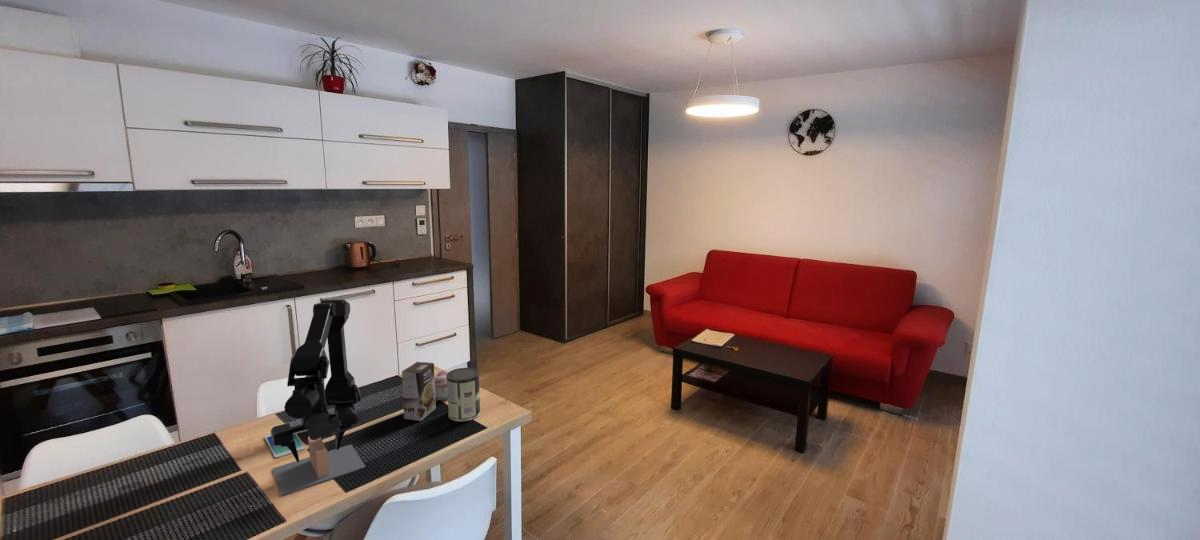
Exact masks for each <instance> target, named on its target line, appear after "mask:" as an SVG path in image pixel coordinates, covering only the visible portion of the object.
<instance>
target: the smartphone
mask: <svg viewBox="0 0 1200 540" xmlns="http://www.w3.org/2000/svg"><path fill="white" fill-rule="evenodd" d="M264 439H265V443H266V445H267V446H268V447H269V449H270V451H271V453H272V456H273V457H274V458H275V459H280V458H284V457H286V456H290V455H293V454H292V452H291V451H290V449H289V448H288V447H287V446H284V447H281V445H279V446H275V445H274V443H273V440H272V437H271V433H270V434H266V435H265V436H264ZM293 439H294V441H295V445H296V449H297V453H299V452H303V451H305V450H306V447H305V444H304V443H303V442H302V440H301V438H300V437H299V436H298V434H294V435H293Z"/></svg>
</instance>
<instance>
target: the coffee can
mask: <svg viewBox="0 0 1200 540" xmlns="http://www.w3.org/2000/svg"><path fill="white" fill-rule="evenodd" d="M446 378H447V392H448V399H447V406H448V407H447V409H448V412H447V413H448V415H447V416H448V418H449V419H450V420H452V421H454V422H461V423H462V422H468V421H472V420H474V419H476V418H478V417H480V415H481V397H480V396H481V395H480V393H481V392H480V371H479V370H478V369H477V368H474V367H460V368H456V369H452V370H449V371H448V373H447V375H446Z"/></svg>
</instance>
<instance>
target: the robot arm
mask: <svg viewBox="0 0 1200 540" xmlns="http://www.w3.org/2000/svg"><path fill="white" fill-rule="evenodd" d="M350 313H351V305H350V302H348V301H347V300H346V299H344V298H340V299H337V298H336V299H335V298H334V299H321V300H320V302H318V303H314V304H313V306H312V317H311V319H310V325H309V327H308V330H307V334H306V337H305V340H304V343H303V344H301V345H300V346H299V347H298V348H296V350H295V353H294V355H293V357H292V358H291V359H290V363H289V369H288V376H287V384H286V385H287V387H293V388H294V389H293V390H292V394H291V395H290V396H289V398H288V399H287V400H286V401H285V403H284V412H285V414H287V415H288V417H291V418H293V419H301V424H299V425H295V426H291V425H290V423H289V422H286V423H283V424H279V425H275V426H273V427H272V428H271V429H270V434H271V437H272V440H273V443H274V445H275V446H279V445H281V447H284V446H287V447H288V448H289V449H290V451H291V452H292V454H291V455H293V458H294V459H295V461H297V462H299V460H300V457H299V456H300V455H299V452H297V449H296V445H295V441H294V439H293V435H294V434H297V435H298V434H300V433H301V434H302V433H305V432H307V433H308V437H310V439H311V440H316V439H318V438H321V439H322V438H325V437H330V436H331V435H332V433H333V430H334V437H335V439H334V441H335V449H337V450H339V448H341V444H342V442H343V441H342V440H343V438H344V435H345V433H346V431H347V430H348V429H350V428H352V426H353V425H356V424H357V423H358V421H360V419H359V416H357V413H356V406H355V405H356V404H358V403H359V402H361V401H362V396H361V390H360V389H359V387H358V385H357V384H356V382H355V377H354V376H353V375H352V374H351V373H350V372H349V370H348V359H347V349H346V337H345V325H346V323H347V322H348V319H349V318H350ZM326 343H327V347H328V348H327V349H328V356H327V353H326V350H325V347H326ZM328 357H329V358H328ZM329 368H330V369H329ZM329 370H330V378H329V379H328V381H327V383H326V385H325V380H326V379H327V378H328V373H329ZM295 376H296V377H295ZM327 406H328V407H329V406H333V412H334V413H329V411H328V410H327V409H328V408H327Z"/></svg>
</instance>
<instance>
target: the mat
mask: <svg viewBox="0 0 1200 540" xmlns="http://www.w3.org/2000/svg"><path fill="white" fill-rule="evenodd" d="M327 453H328V464H329V475H327V476H324V477H321V478H318V476H317V474H316V472H315V470H314V468H313V465H312V463H311V461H310V456H309V457H305V458H302V459H299V462H297V461H296V460H295V461H292V462H288V463H286V464H282V465H279V466H275V467H273V468H272V472H273V475H274V477H275V481H276V483H277V487H278V491H279V493H280V497H284V496H286V495H289V494H293V493H296V492H299V491H301V490H304V489H307V488H308V489H309V488H310V487H314V486H317V485H319V484H322V483H325V482H328V481H331V480H334V479H336V478H340V477H343V476H345V475H349V474H352V473H354V472H357V471H361V470H363V468H364V469H366V467H367V466H366V464H365V462H363V460H362V458H361V457H360V456H359V454H358V452H357V450H356V449H355V447H354V446H353V445H352V444H348V445H344V446H342V447H341V446H340V447H339V450H337V449H336V448H335V449H331V450H329V451H328V450H327ZM360 469H361V470H360Z"/></svg>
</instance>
